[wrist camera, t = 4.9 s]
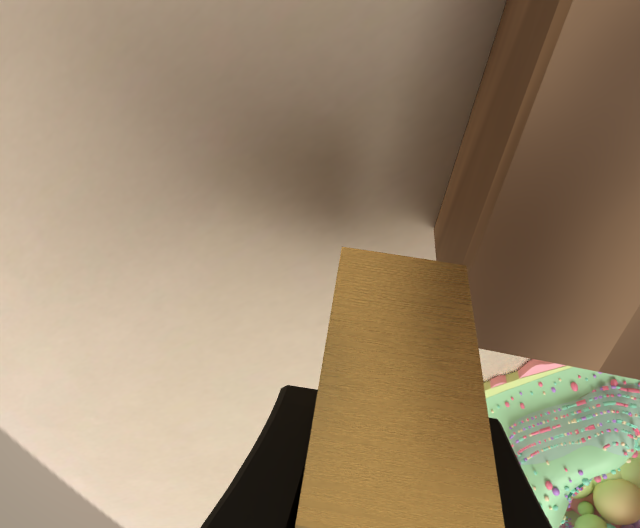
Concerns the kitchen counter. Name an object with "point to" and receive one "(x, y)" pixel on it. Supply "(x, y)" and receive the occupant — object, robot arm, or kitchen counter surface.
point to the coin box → (553, 187)
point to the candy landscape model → (574, 441)
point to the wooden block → (400, 403)
